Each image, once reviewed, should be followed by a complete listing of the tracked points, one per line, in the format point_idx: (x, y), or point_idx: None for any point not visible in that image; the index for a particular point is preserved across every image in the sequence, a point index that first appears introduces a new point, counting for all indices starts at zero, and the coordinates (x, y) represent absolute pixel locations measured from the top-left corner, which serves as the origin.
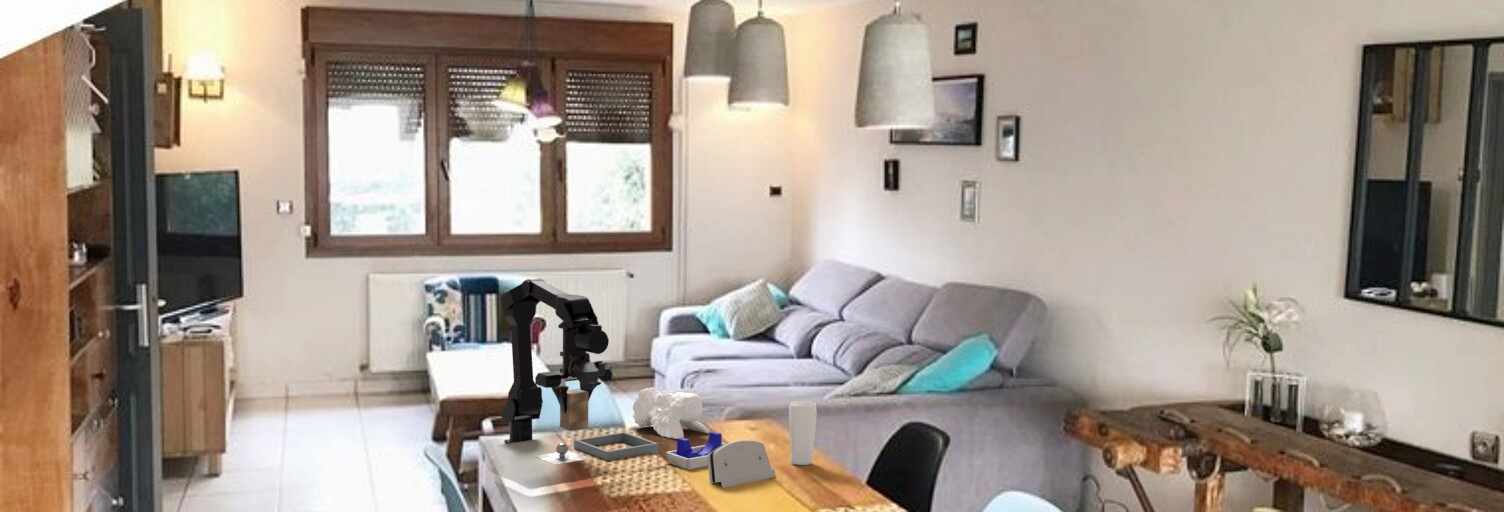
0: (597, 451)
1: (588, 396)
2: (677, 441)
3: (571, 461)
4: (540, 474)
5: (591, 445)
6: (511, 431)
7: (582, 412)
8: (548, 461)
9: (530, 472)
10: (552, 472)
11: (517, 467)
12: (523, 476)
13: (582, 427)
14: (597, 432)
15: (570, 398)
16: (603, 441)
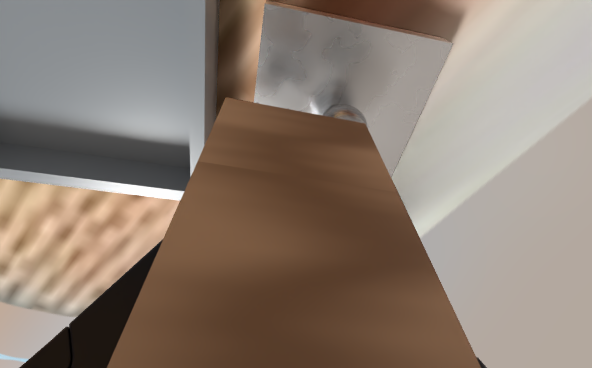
0: (209, 11)
1: (90, 343)
2: None
3: (366, 29)
4: (519, 35)
5: (194, 91)
6: None
7: (267, 175)
8: (421, 102)
9: (504, 88)
10: (468, 22)
11: (461, 165)
12: (572, 61)
13: (271, 111)
14: (31, 282)
15: (474, 357)
16: (75, 163)
